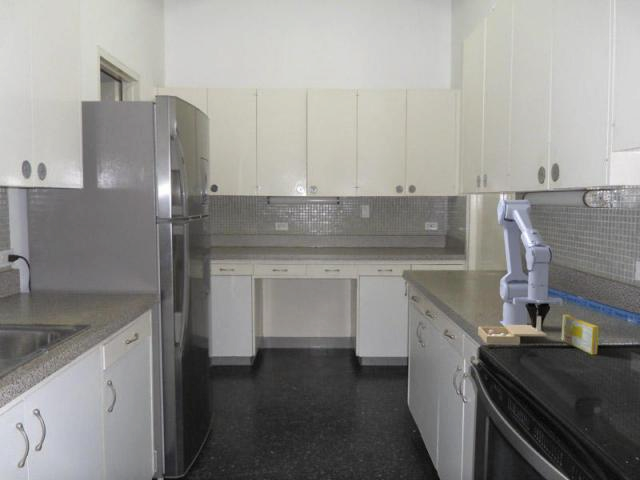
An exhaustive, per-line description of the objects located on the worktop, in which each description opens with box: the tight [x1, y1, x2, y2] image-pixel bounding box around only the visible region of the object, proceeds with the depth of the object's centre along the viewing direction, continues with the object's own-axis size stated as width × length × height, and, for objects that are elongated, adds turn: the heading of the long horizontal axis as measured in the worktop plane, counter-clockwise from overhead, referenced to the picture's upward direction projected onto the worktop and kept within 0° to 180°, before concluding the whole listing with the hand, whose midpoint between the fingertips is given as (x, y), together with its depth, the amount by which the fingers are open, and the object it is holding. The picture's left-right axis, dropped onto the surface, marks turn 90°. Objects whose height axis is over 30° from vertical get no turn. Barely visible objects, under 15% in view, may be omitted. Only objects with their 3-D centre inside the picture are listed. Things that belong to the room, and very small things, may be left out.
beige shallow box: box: [477, 326, 521, 346], centre depth 173 cm, size 12×10×3 cm
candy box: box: [561, 314, 600, 356], centre depth 165 cm, size 16×2×8 cm, turn 6°
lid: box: [503, 313, 547, 337], centre depth 173 cm, size 12×10×5 cm
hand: (536, 327), depth 172 cm, fingers closed on lid
